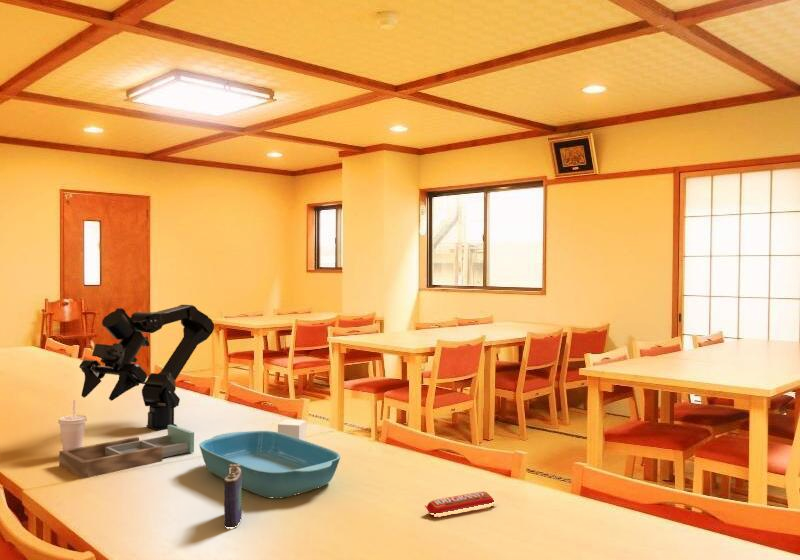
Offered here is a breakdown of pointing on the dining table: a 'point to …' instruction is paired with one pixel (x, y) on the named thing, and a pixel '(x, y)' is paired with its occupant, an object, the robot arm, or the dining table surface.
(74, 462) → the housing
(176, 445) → the tray
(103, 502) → the dining table surface
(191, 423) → the dining table surface
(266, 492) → the casserole dish
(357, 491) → the dining table surface
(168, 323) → the robot arm
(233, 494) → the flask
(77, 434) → the smoothie
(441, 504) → the candy bar
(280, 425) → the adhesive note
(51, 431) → the dining table surface
